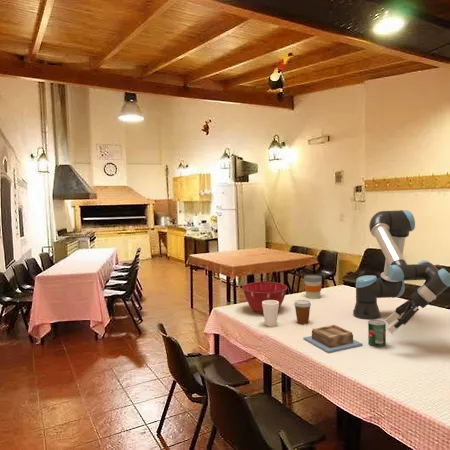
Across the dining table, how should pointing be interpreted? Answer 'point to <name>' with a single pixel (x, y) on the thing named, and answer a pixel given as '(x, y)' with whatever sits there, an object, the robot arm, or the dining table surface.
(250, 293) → the mixing bowl
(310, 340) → the board
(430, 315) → the dining table surface
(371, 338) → the canned tomato
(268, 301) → the foam cup
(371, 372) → the dining table surface
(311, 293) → the reusable coffee cup
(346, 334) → the walnut block
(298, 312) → the disposable coffee cup
